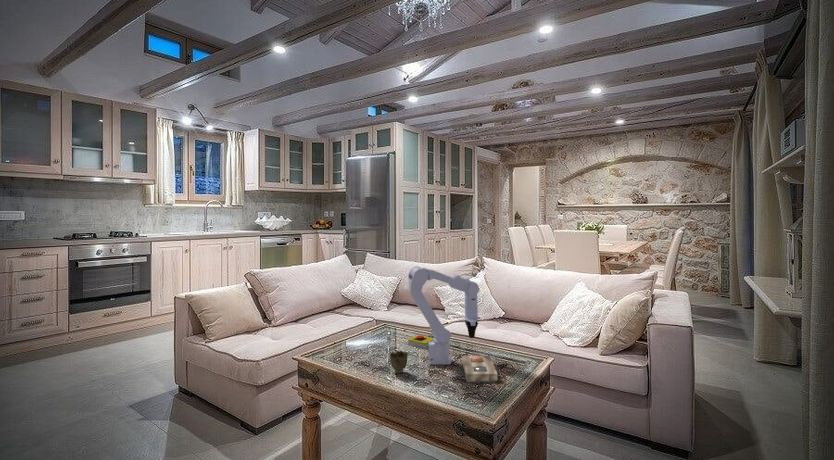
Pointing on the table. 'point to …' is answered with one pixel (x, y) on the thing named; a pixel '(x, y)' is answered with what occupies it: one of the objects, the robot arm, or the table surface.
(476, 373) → the button panel
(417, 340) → the emergency button
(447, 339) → the robot arm
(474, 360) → the terracotta button
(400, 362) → the cup
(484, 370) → the grey button
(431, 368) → the table surface
